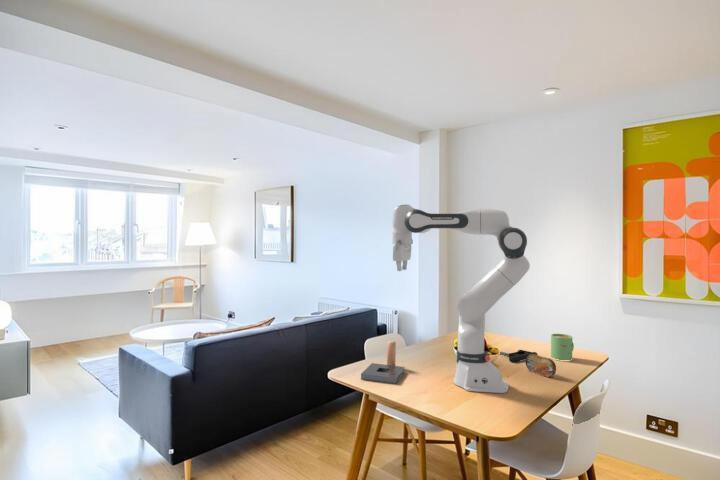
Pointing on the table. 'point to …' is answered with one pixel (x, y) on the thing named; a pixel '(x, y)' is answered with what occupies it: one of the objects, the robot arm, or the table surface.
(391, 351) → the pin
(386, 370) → the socket plate
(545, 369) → the tin
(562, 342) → the mug
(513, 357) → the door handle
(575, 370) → the table surface
